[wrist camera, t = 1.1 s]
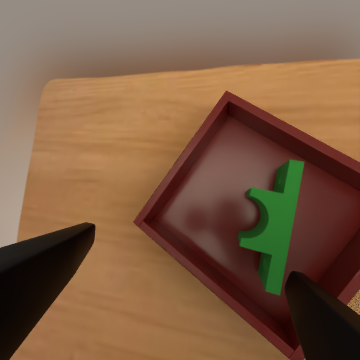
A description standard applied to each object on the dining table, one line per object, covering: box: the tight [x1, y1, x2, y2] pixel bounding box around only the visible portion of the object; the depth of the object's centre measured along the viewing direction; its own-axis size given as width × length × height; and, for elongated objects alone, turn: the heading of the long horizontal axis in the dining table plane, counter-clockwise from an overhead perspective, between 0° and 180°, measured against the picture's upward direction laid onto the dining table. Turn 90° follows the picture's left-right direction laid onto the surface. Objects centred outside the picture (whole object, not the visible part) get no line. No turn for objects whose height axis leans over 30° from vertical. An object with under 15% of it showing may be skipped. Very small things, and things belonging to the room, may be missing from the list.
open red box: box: [134, 91, 360, 360], centre depth 20 cm, size 19×17×4 cm
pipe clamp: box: [238, 160, 304, 296], centre depth 19 cm, size 11×4×5 cm, turn 167°
